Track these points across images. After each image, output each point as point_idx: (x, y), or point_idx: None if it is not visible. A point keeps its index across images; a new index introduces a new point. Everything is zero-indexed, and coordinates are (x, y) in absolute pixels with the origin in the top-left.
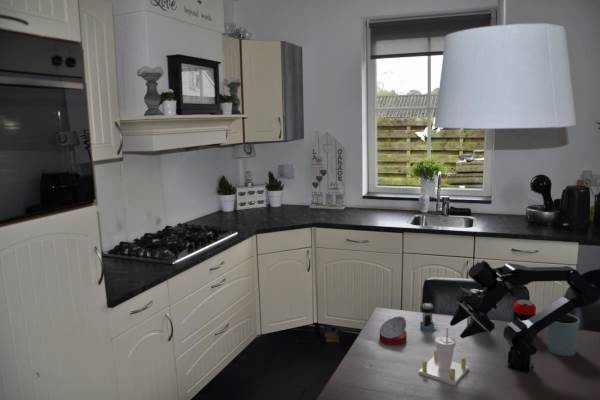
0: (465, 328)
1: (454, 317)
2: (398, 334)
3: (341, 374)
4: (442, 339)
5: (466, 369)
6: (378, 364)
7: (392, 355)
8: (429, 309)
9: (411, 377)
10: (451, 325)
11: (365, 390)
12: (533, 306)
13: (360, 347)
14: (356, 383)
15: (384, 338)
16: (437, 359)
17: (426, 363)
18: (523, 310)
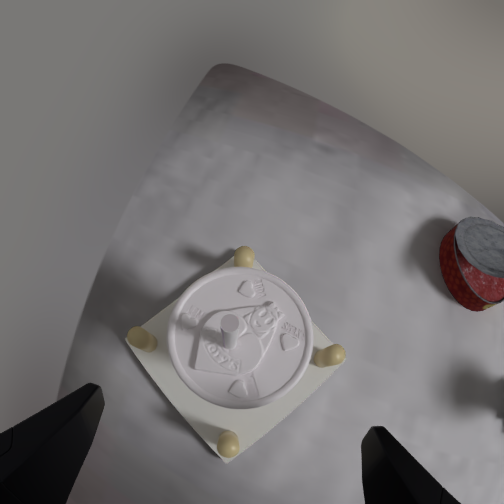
0: (46, 436)
1: (404, 481)
2: (467, 254)
3: (288, 89)
4: (252, 318)
5: (205, 440)
6: (328, 166)
7: (382, 224)
8: None
9: (226, 220)
10: (365, 438)
11: (203, 105)
12: None
13: (422, 167)
14: (239, 99)
15: (458, 223)
16: (314, 360)
17: (234, 260)
18: None
